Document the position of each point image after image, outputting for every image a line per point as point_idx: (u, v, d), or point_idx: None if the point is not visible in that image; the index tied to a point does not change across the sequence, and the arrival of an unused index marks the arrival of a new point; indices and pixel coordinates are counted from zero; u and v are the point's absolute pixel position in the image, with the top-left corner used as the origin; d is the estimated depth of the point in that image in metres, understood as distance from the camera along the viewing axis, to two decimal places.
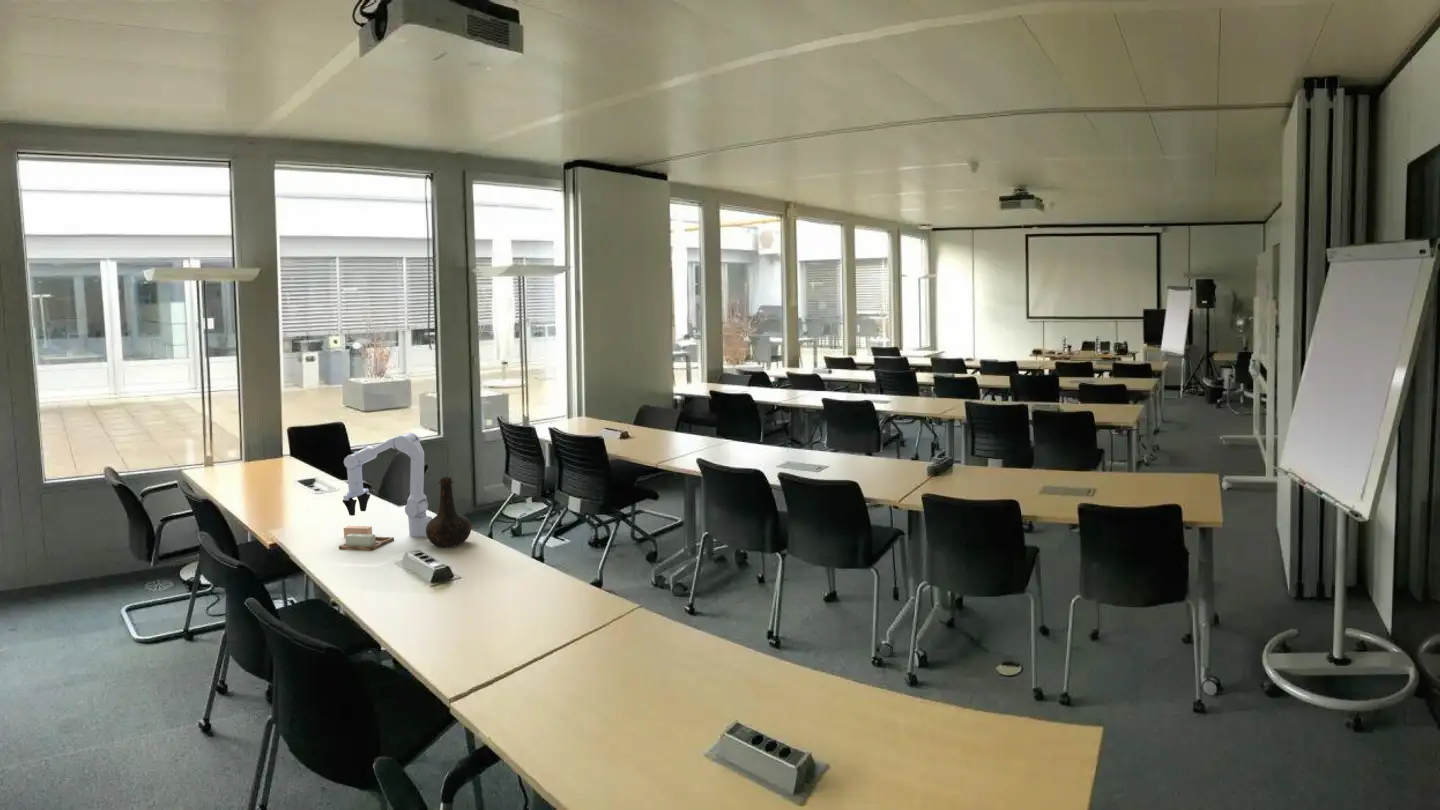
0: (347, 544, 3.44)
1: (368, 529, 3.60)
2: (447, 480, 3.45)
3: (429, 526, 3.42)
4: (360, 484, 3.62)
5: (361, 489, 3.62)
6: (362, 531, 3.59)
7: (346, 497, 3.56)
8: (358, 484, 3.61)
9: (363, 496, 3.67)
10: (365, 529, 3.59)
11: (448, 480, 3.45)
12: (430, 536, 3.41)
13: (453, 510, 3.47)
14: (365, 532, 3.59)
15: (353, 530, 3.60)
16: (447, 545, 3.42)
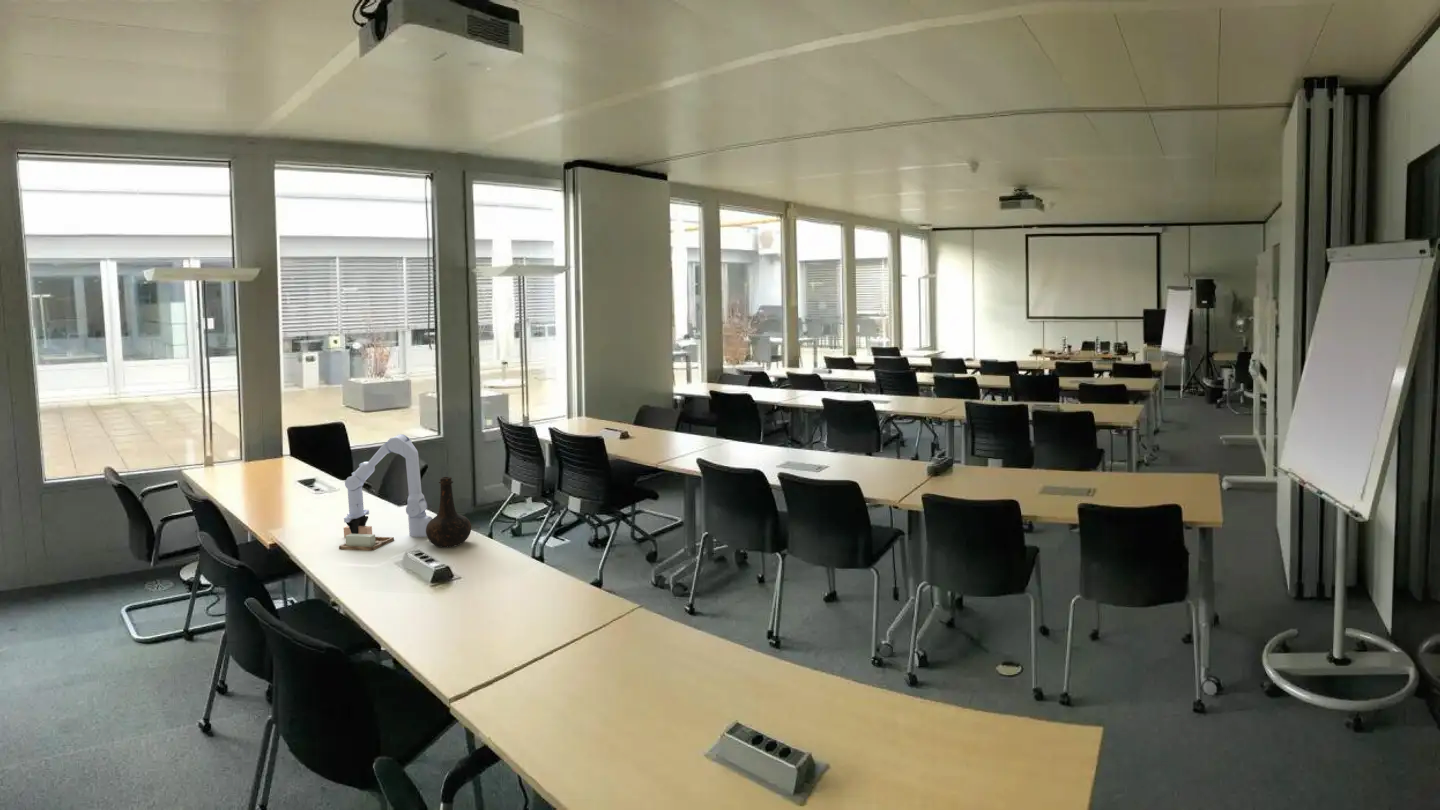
0: (347, 544, 3.44)
1: (368, 529, 3.59)
2: (447, 480, 3.45)
3: (429, 526, 3.42)
4: (361, 506, 3.59)
5: (362, 511, 3.60)
6: (362, 530, 3.59)
7: (347, 519, 3.54)
8: (359, 506, 3.58)
9: (361, 518, 3.63)
10: (365, 529, 3.59)
11: (448, 480, 3.45)
12: (430, 536, 3.41)
13: (453, 510, 3.47)
14: (365, 531, 3.59)
15: None
16: (447, 545, 3.42)
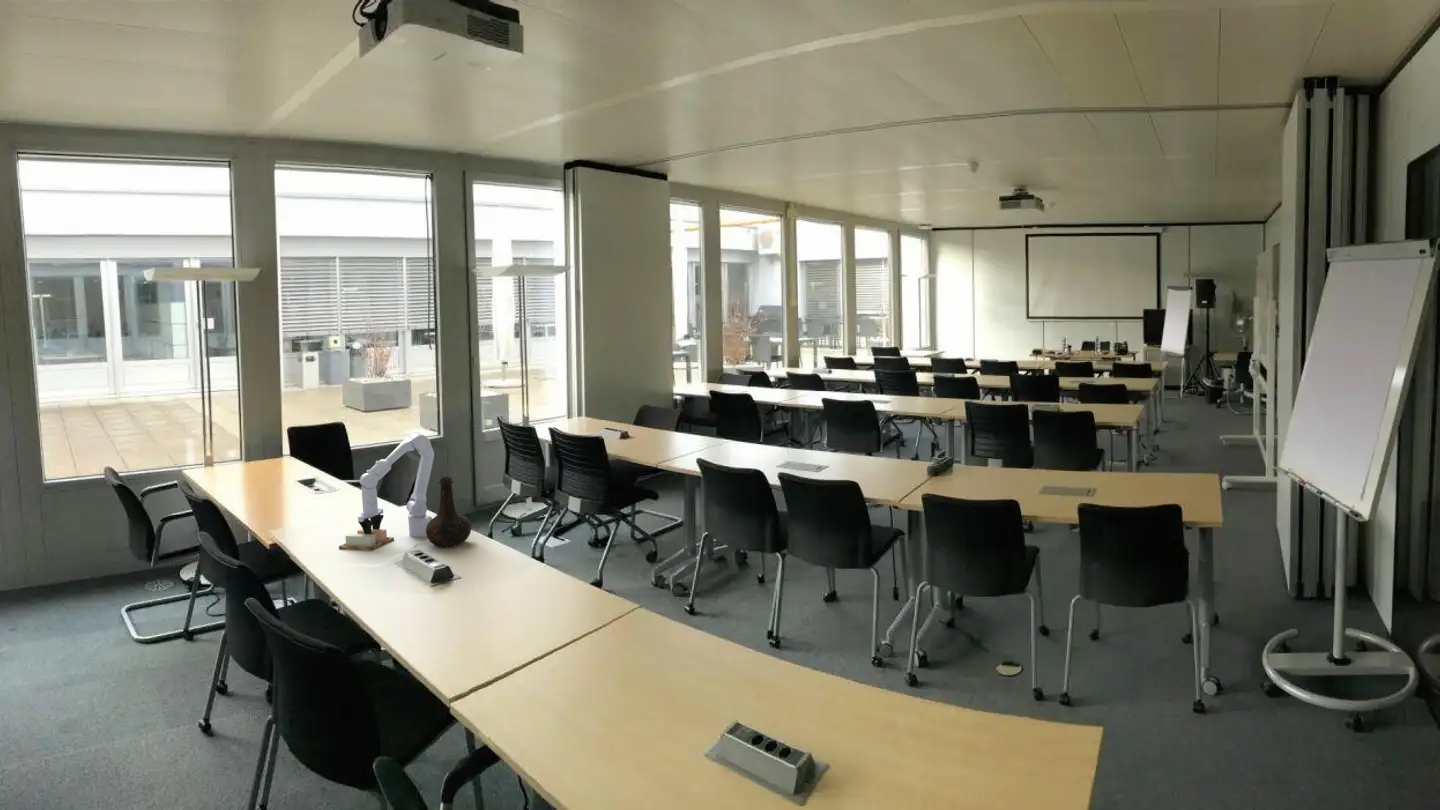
0: (347, 544, 3.44)
1: (382, 532, 3.50)
2: (447, 480, 3.45)
3: (429, 526, 3.42)
4: (375, 504, 3.50)
5: (376, 510, 3.50)
6: (376, 534, 3.50)
7: (361, 518, 3.44)
8: (373, 505, 3.49)
9: (376, 517, 3.54)
10: (380, 532, 3.50)
11: (448, 480, 3.45)
12: (430, 536, 3.41)
13: (453, 510, 3.47)
14: (380, 535, 3.50)
15: None
16: (447, 545, 3.42)
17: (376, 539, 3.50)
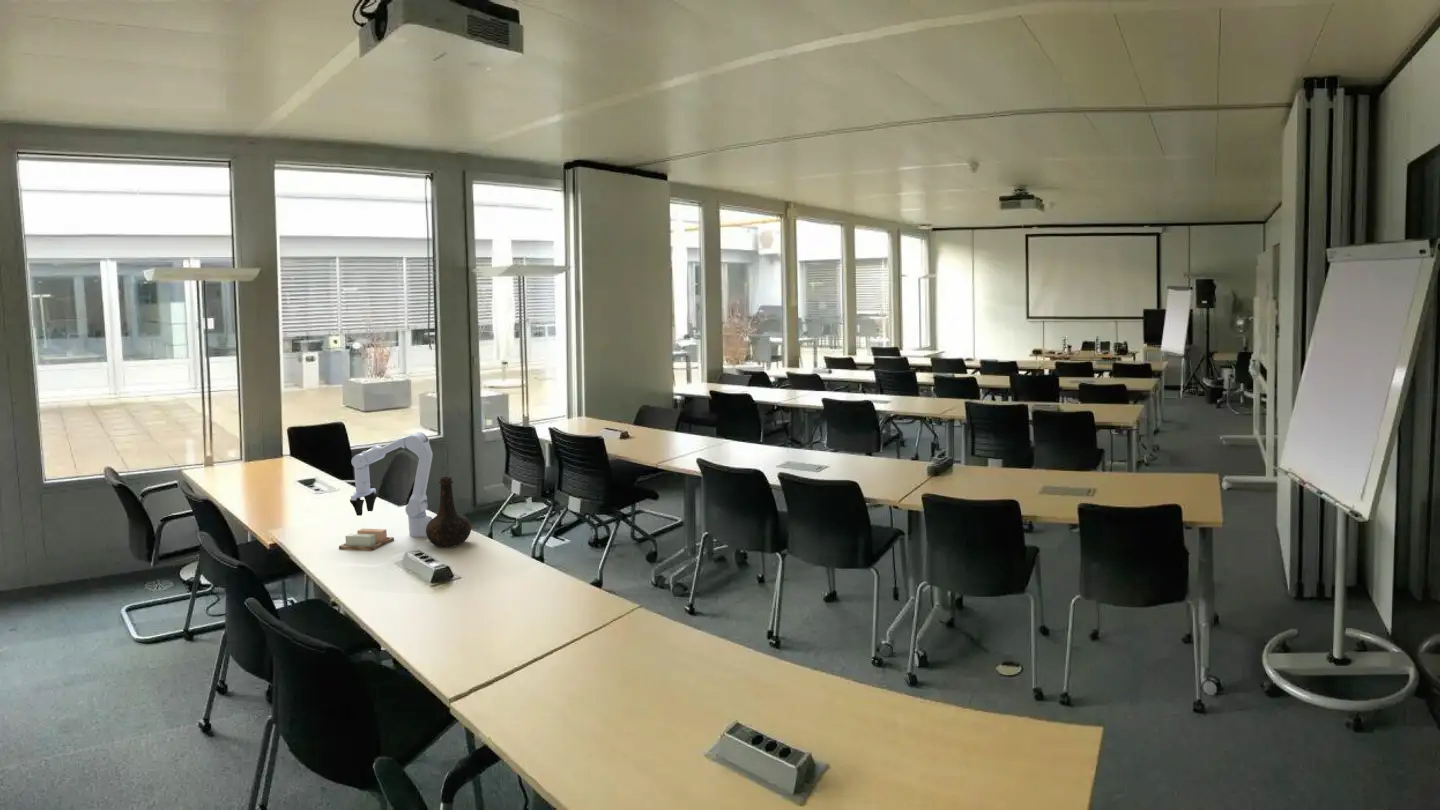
0: (347, 544, 3.44)
1: (382, 532, 3.50)
2: (447, 480, 3.45)
3: (429, 526, 3.42)
4: (367, 484, 3.60)
5: (368, 489, 3.60)
6: (376, 534, 3.50)
7: (353, 497, 3.54)
8: (365, 484, 3.59)
9: (370, 496, 3.65)
10: (380, 532, 3.50)
11: (448, 480, 3.45)
12: (430, 536, 3.41)
13: (453, 510, 3.47)
14: (380, 535, 3.50)
15: (367, 533, 3.51)
16: (447, 545, 3.42)
17: (376, 539, 3.50)
